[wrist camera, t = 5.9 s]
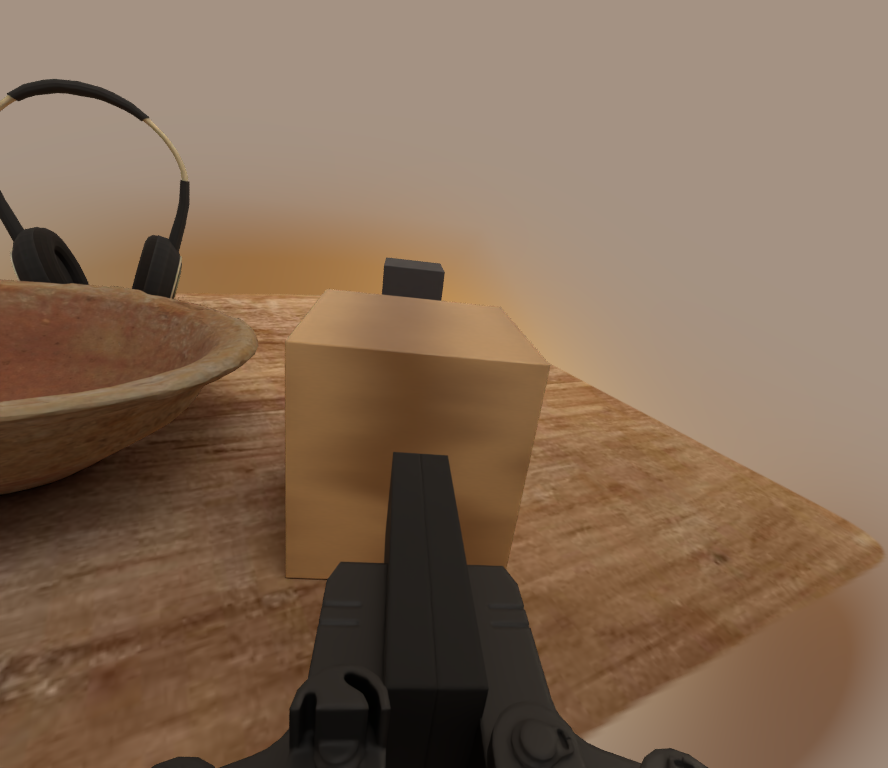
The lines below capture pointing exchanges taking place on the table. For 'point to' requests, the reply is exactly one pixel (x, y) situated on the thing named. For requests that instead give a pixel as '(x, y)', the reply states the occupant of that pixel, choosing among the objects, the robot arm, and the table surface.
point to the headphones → (45, 251)
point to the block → (413, 279)
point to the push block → (403, 421)
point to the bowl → (99, 372)
